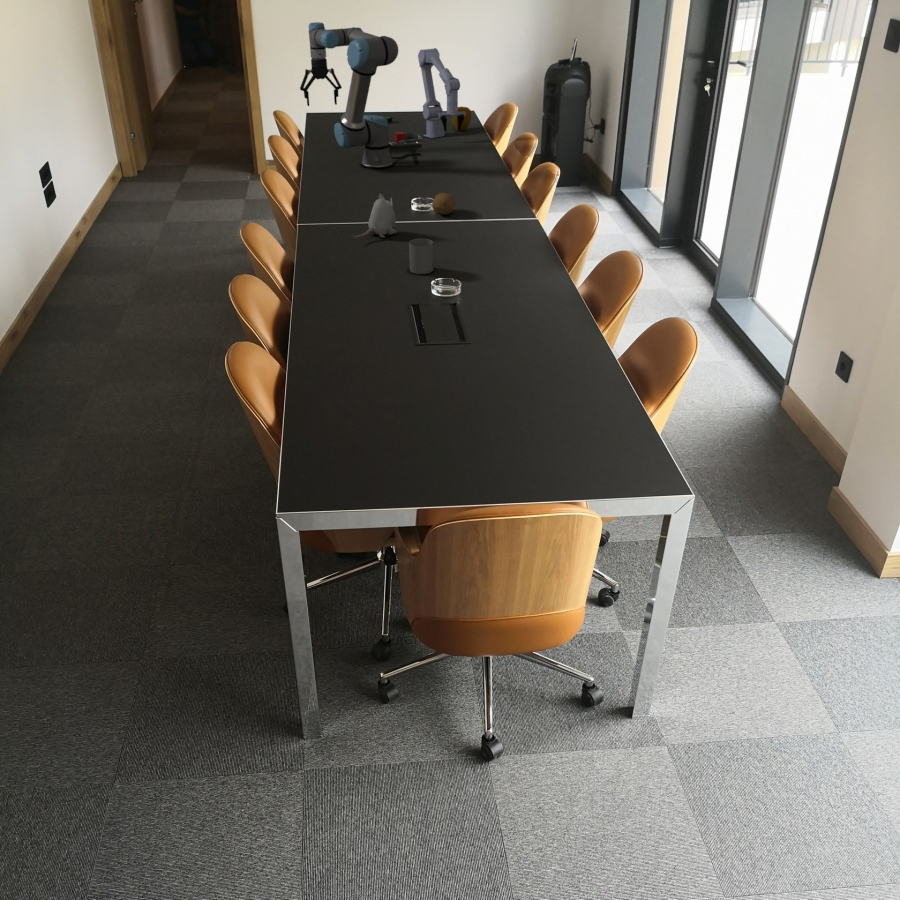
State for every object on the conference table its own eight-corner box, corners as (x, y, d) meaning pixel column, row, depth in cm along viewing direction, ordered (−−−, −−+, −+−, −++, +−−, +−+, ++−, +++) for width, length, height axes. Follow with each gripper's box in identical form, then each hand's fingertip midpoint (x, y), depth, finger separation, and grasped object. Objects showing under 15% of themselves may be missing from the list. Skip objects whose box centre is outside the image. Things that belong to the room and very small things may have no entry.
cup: (409, 265, 311) (408, 238, 306) (432, 265, 312) (431, 238, 307) (410, 274, 304) (409, 246, 299) (433, 273, 305) (433, 246, 299)
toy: (402, 233, 342) (401, 194, 333) (358, 248, 327) (355, 208, 319) (387, 227, 347) (385, 190, 339) (342, 242, 332) (339, 203, 324)
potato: (453, 208, 369) (453, 189, 365) (456, 218, 357) (456, 199, 353) (431, 208, 368) (430, 189, 364) (432, 218, 356) (432, 199, 352)
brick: (394, 141, 470) (394, 132, 467) (403, 140, 471) (402, 131, 468) (396, 143, 466) (396, 134, 463) (405, 142, 467) (405, 133, 464)
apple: (471, 132, 486) (471, 108, 479) (451, 132, 486) (451, 108, 479) (470, 128, 495) (471, 104, 488) (452, 128, 495) (452, 104, 488)
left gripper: (293, 60, 412) (297, 107, 424) (345, 58, 418) (348, 104, 429) (291, 57, 418) (295, 104, 430) (343, 56, 424) (345, 101, 435)
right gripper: (441, 106, 450) (441, 133, 457) (467, 104, 454) (467, 131, 461) (437, 103, 456) (437, 130, 463) (463, 101, 459) (463, 128, 467)
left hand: (322, 104), depth 430 cm, fingers open, 13 cm apart
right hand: (452, 130), depth 463 cm, fingers open, 7 cm apart
